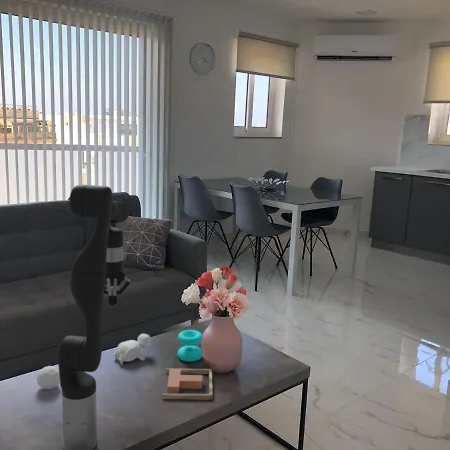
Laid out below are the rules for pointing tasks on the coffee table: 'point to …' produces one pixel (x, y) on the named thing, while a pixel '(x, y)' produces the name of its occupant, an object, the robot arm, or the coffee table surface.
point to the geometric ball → (48, 377)
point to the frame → (192, 396)
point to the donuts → (190, 345)
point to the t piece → (182, 381)
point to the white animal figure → (132, 349)
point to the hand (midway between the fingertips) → (113, 304)
